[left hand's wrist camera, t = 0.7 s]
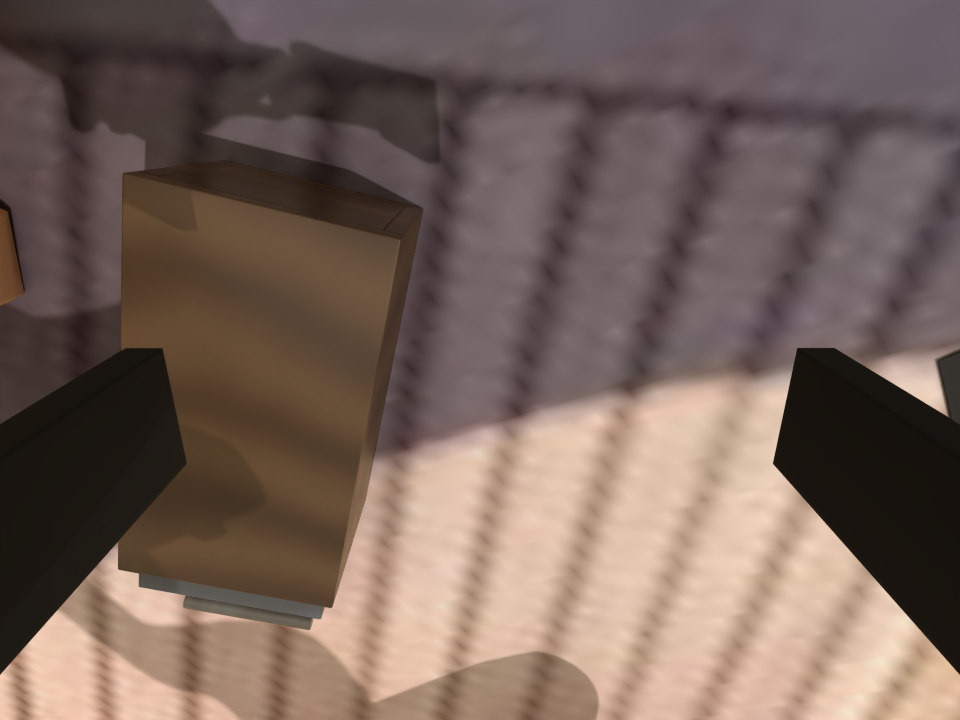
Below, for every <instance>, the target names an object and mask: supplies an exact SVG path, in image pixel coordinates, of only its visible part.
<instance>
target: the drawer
mask: <svg viewBox="0 0 960 720" xmlns="http://www.w3.org/2000/svg"><path fill="white" fill-rule="evenodd" d="M139 587H143V588H148V589H154V590H159V591H165V592H170V593H176V594H182V595H186V596H185V599H184V604H183V607H184V608H187V609H192V610H198V611H204V612H209V613H215V614H221V615H226V616H232V617H238V618H243V619H249V620H255V621H260V622H266V623H272V624H277V625H283V626H289V627H294V628H300V629H306V630H310V629H311V626H312V623H313V619H314V618H316V619H321V617H322V614H323V611H324V608H325V607H322V606H317V605H311V604H306V603H300V602H295V601H289V600H284V599H278V598H273V597H267V596H262V595H256V594H250V593H245V592H239V591H234V590H228V589H223V588H217V587H212V586H206V585H201V584H195V583H190V582H184V581H178V580H173V579H167V578H162V577H156V576H151V575H145V574H140V573H139Z"/></svg>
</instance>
